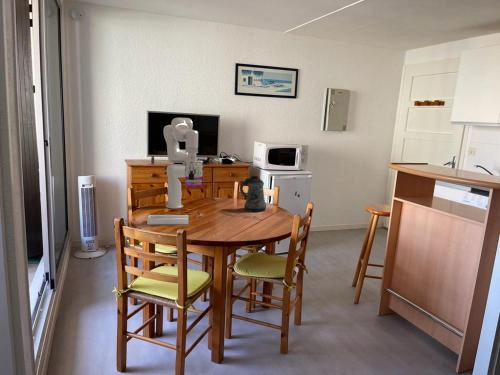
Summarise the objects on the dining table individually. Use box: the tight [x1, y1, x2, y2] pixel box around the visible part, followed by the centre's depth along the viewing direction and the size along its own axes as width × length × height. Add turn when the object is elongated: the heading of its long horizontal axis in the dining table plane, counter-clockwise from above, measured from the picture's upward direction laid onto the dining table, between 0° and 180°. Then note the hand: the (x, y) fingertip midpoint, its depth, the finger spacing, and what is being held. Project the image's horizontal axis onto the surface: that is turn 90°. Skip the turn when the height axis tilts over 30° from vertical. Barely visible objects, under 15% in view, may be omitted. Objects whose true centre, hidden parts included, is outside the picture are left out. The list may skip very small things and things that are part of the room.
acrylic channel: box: [146, 214, 189, 225], centre depth 226 cm, size 9×24×4 cm, turn 99°
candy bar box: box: [184, 160, 204, 188], centre depth 229 cm, size 11×5×16 cm, turn 102°
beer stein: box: [239, 175, 267, 213], centre depth 267 cm, size 16×19×25 cm
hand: (191, 178), depth 229 cm, fingers closed on candy bar box, 5 cm apart
